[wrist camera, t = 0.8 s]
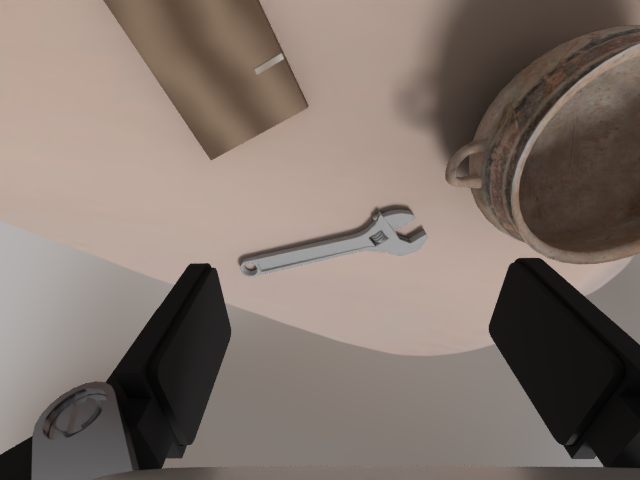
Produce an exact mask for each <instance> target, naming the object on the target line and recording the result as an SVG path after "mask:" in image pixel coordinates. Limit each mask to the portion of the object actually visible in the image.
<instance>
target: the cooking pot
mask: <svg viewBox="0 0 640 480" xmlns="http://www.w3.org/2000/svg"><path fill="white" fill-rule="evenodd" d="M468 155H470V156H469V176H467V177H462V178H459V177H456V173H457V168H458V165H459V164H460V162H461V161H462V160H463V159H464V158H465V157H467V156H468ZM445 176H446V181H447V182H448V183H449V184H450V185H452V186H455V187H469V188H471V191H472V194H473V197H474V199H475V201H476V204H477V206H478V208H479V209H480V210H481V212H482V213H483V215H484V216H485V217H486V219H487V220H488V221H490V222H491V223H492V224H493V225H494V226H495V227H496V228H497V229H499V230H500V231H501V232H503V233H505V234H507V235H509V236H510V237H512V238H514V239H516V240H519V241H522V242H525V243H527V244H528V245H529V246H530V247H531V248H533V249H534V250H535V251H536V252H538V253H540V254H542V255H544V256H545V257H547V258H550V259H553V260H556V261H560V262H564V263H572V264H597V263H604V262H610V261H615V260H619V259H622V258H626V257H630V256H633V255H636V254H638V253H640V25H634V26H617V27H611V28H607V29H603V30H599V31H595V32H590V33H587V34H584V35H582V36H579V37H577V38H574V39H572V40H570V41H567V42H565V43H562V44H560V45H559V46H557V47H555V48H554V49H552V50H550V51H549V52H547V53H545V54H544V55H542V56H540V57H539V58H537V59H536V60H534V61H533V62H532V63H531V64H529V65H528V66H527V67H526V68H524V69H523V70H522V71H521V72H519V73H518V74H517V75H516V76H515V77H514V78H513V79H512V80H511V81H510V82H509V83H508V84H507V85H506V86H505V87H504V88H503V89H502V90H501V91H500V93H499V94H498V95H497V97H496V98H495V99H494V101H493V102H492V103H491V105H490V106H489V108H488V109H487V111H486V113H485V115H484V116H483V118H482V120H481V122H480V124H479V126H478V128H477V131H476V134H475V136H474V139H473V141H472V142H470V143H468V144H466V145H464V146H463V147H461V148H460V149H459V150H458V151H457V152H456V153H455V154H454V155H453V156H452V158H451V159H450V160H449V162H448V164H447V167H446V174H445Z"/></svg>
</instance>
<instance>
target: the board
mask: <svg viewBox="0 0 640 480" xmlns="http://www.w3.org/2000/svg"><path fill="white" fill-rule="evenodd" d="M104 2H105V3H106V4H107V6H108V7H109V9H110V10H111V12H112V13H113V15H114V16H115V18H116V19H117V21H118V22H119V24H120V25H121V27H122V28H123V30H124V31H125V33H126V34H127V36H128V37H129V39H130V40H131V42H132V43H133V45H134V46H135V48H136V49H137V51H138V52H139V54H140V55H141V57H142V58H143V60H144V61H145V63H146V64H147V66H148V67H149V69H150V70H151V72H152V73H153V75H154V76H155V78H156V79H157V81H158V82H159V84H160V85H161V87H162V88H163V90H164V91H165V92H166V94H167V95H168V97H169V98H170V100H171V101H172V103H173V104H174V106H175V107H176V109H177V110H178V112H179V113H180V115H181V116H182V118H183V119H184V121H185V122H186V124H187V125H188V127H189V128H190V130H191V131H192V133H193V134H194V136H195V137H196V139H197V140H198V142H199V143H200V145H201V146H202V148H203V149H204V151H205V152H206V154H207V155H208V157H209V158H210V160H213V159H215V158H216V157H218V156H220V155H222V154H224V153H226V152H227V151H229V150H231V149H233V148H235V147H237V146H238V145H240V144H242V143H244V142H246V141H248V140H249V139H251V138H253V137H255V136H257V135H259V134H260V133H262V132H264V131H266V130H268V129H270V128H272V127H273V126H275V125H277V124H279V123H281V122H283V121H284V120H286V119H288V118H290V117H292V116H294V115H295V114H297V113H299V112H301V111H303V110H305V109H306V108H308V104H307V102H306V99H305V97H304V95H303V93H302V91H301V89H300V87H299V85H298V83H297V80H296V78H295V76H294V74H293V72H292V70H291V68H290V66H289V63H288V61H287V59H286V57H285V55H284V53H283V51H282V49H281V47H280V44H279V42H278V40H277V38H276V36H275V34H274V32H273V30H272V27H271V25H270V23H269V21H268V19H267V17H266V15H265V13H264V11H263V8H262V6H261V4H260V2H259V0H104Z"/></svg>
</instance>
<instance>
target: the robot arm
mask: <svg viewBox="0 0 640 480" xmlns="http://www.w3.org/2000/svg"><path fill="white" fill-rule="evenodd" d="M489 333H490V335H491V337H492V339H493V341H494V342H495V344H496V345H497V347H498V349H499V350H500V352H501V353H502V355H503V357H504V358H505V360H506V362H507V363H508V365H509V366H510V368H511V370H512V371H513V373H514V374H515V376H516V378H517V379H518V381H519V382H520V384H521V385H522V387H523V389H524V390H525V392H526V394H527V395H528V397H529V399H530V400H531V402H532V403H533V405H534V406H535V408H536V410H537V411H538V413H539V414H540V416H541V418H542V419H543V421H544V423H545V424H546V426H547V428H548V429H549V431H550V432H551V434H552V435H553V437H554V438H555V440H556V441H557V442H558V443H559V444H561V445H564V447H565V449H566V450H567V452H568V453H569V455H570V457H571V458H572V459H594V458H595V457H596V456H597V457H598V458H599V460H600V461H601V463H602V464H603V467H495V466H489V467H488V466H484V467H483V466H479V467H478V466H470V467H469V466H268V467H267V466H252V467H251V466H239V467H197V468H196V467H194V468H165V469H161V468H162V466H163V464H164V461H165V459H166V458H182V457H183V454H184V452H185V449H186V446H187V445H191V444H192V443H193V441H194V439H195V437H196V434H197V431H198V428H199V425H200V423H201V420H202V417H203V414H204V411H205V409H206V406H207V403H208V400H209V397H210V394H211V392H212V389H213V386H214V383H215V380H216V377H217V375H218V372H219V369H220V366H221V363H222V360H223V358H224V355H225V352H226V349H227V346H228V343H229V341H230V337H231V327H230V322H229V318H228V314H227V310H226V306H225V302H224V298H223V294H222V290H221V285H220V281H219V277H218V273H217V270H216V268H211V266H210V264H208V263H205V264H190V265H189V266H188V267H187V268H186V270H185V271H184V273H183V274H182V275H181V277H180V278H179V280H178V281H177V283H176V284H175V285H174V287H173V288H172V290H171V291H170V293H169V294H168V295H167V297H166V298H165V300H164V301H163V303H162V304H161V305H160V307H159V308H158V309H157V310H156V312H155V313H154V314H153V316H152V317H151V319H150V320H149V321H148V323H147V324H146V326H145V327H144V329H143V330H142V331H141V333H140V334H139V336H138V337H137V339H136V340H135V342H134V343H133V344H132V346H131V347H130V348H129V350H128V351H127V353H126V354H125V356H124V357H123V358H122V360H121V361H120V363H119V364H118V366H117V367H116V368H115V370H114V371H113V373H112V374H111V376H110V377H109V378H108V380H107V381H106V383H105V382H90V383H85V384H83V385H80V386H78V387H75V388H73V389H71V390H70V391H68V392H66V393H64V394H63V395H61V396H60V397H59V398H57V399H56V400H55V401H54V402H53V403H51V404H50V405H49V406H48V408H47V409H46V410H45V411H44V412H43V413H42V414H41V416H40V417H39V419H38V421H37V422H36V424H35V427H34V431H33V436H32V437H30V438H28V439H27V440H25V441H23V442H21V443H20V444H18V445H16V446H15V447H13V448H11V449H9V450H8V451H6V452H4V453H3V454H1V455H0V480H640V345H639V344H638V343H637V342H636V341H635V340H634V339H632V338H631V337H630V336H629V335H628V334H627V333H626V332H624V331H623V330H622V329H621V328H620V327H619V326H618V325H616V324H615V323H614V322H613V321H611V319H610V318H608V317H607V316H606V315H605V314H604V313H603V312H601V311H600V310H599V309H598V308H597V307H596V306H595V305H594V304H592V303H591V302H590V301H589V300H588V299H587V298H586V297H584V296H583V295H582V294H581V293H580V292H579V291H578V290H576V289H575V288H574V287H573V286H572V285H571V284H570V283H568V282H567V281H566V280H565V279H564V278H563V277H562V276H560V275H559V274H558V273H557V272H556V271H555V270H554V269H552V268H551V267H550V266H549V265H548V264H547V263H546V262H544V261H543V260H542V259H540V258H519V259H517V260H516V261H515V262H514V263H511V264H510V266H509V268H508V271H507V274H506V277H505V280H504V283H503V286H502V288H501V291H500V294H499V297H498V300H497V303H496V306H495V309H494V312H493V315H492V318H491V321H490V324H489Z"/></svg>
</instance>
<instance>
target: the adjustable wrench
mask: <svg viewBox="0 0 640 480" xmlns="http://www.w3.org/2000/svg"><path fill="white" fill-rule="evenodd" d="M372 219H373V220H374V221H373V222H372V223H371V224H370V225H369V226H368V227H367V228H366V229H364V230H363V231H360V232H358V233H355V234H352V235H347V236H343V237H338V238H334V239H329V240H325V241H320V242H316V243H311V244H307V245H302V246H298V247H293V248H289V249H284V250H280V251H275V252H271V253H266V254H262V255H257V256H253V257H248V258H245V259H244V260H243V262H242V264H241V266H240V270H241V272H242V274H244V275H245V276H248V277H254V276H258V275H262V274H267V273H271V272H275V271H279V270H283V269H288V268H292V267H296V266H300V265H305V264H309V263H313V262H317V261H321V260H326V259H330V258H334V257H338V256H343V255H347V254H351V253H355V252H360V251H375V252H383V253H389V254H394V255H408V254H411V253H413V252H415V251H417V250H418V249H420V248H421V247H422V246H423V245H424V243H425V241H426V239H427V234H426V232H425V231H424V230H422V231H420V232H419V233H417V234H416V235H414V236H412V237H411V238H409V239H407V238H404V237H401V236H398V235H397V233H396V228H397V227H398V228H401V227H402V226H404V225H406V224H407V223H409V222H410V221H412V220H414V219H415V216H414V215H413V213H412V212H411V211H409V210H402V209H398V210H391V211H387V212H384V213H381V212H380V211H379V212H378V214H376V215H374V216H373V218H372ZM370 236H371V238H372V239H373V240H374V242H373V240H372V239H371V238H370ZM245 263H252V264H254V265H255V266H256V270H254V271H250V270H248V269H246V268H245Z"/></svg>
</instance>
